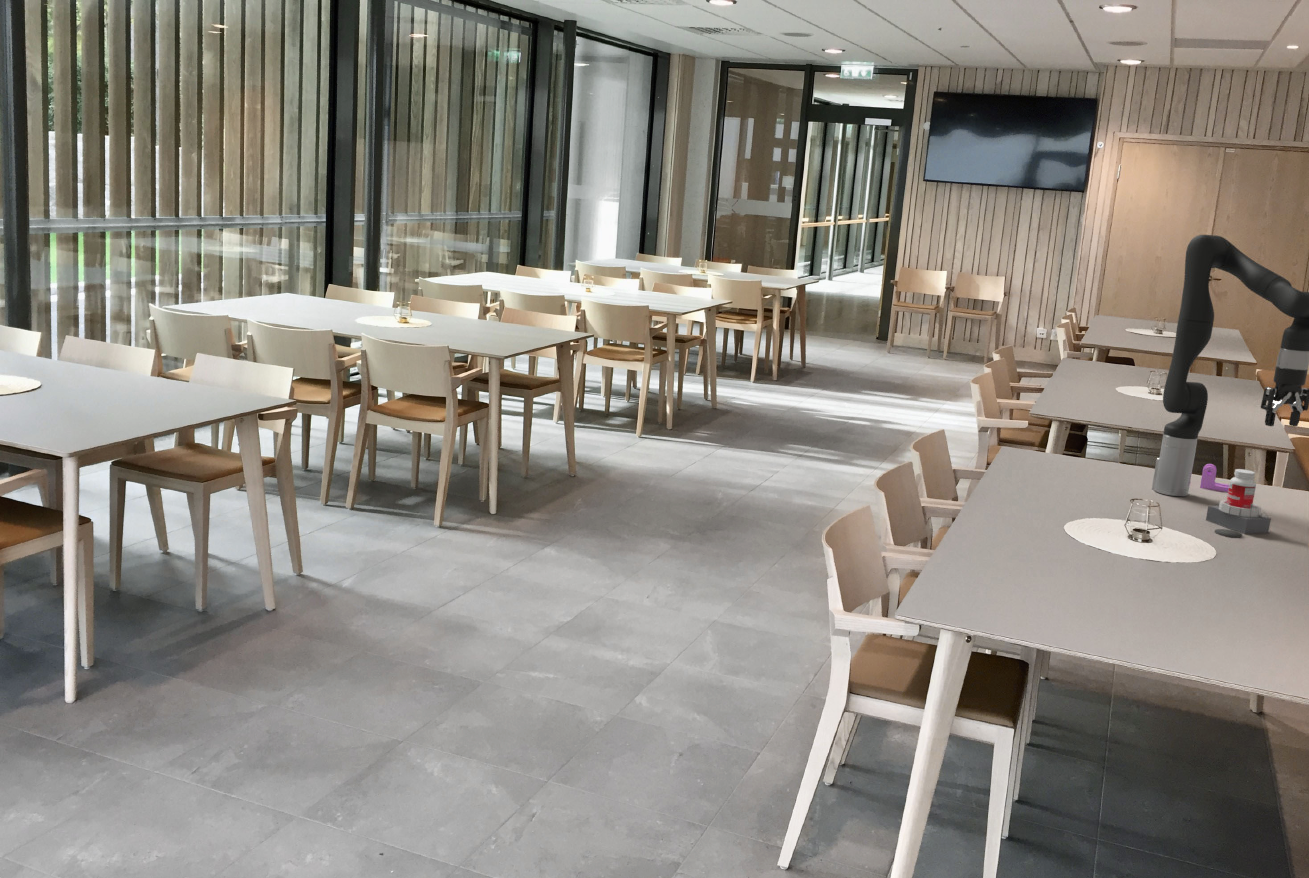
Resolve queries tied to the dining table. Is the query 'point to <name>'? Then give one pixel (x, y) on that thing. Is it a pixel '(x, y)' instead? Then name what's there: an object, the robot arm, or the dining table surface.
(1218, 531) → the lens cap
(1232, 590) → the dining table surface
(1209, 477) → the bracket
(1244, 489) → the pill bottle
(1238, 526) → the gray ring-topped block
